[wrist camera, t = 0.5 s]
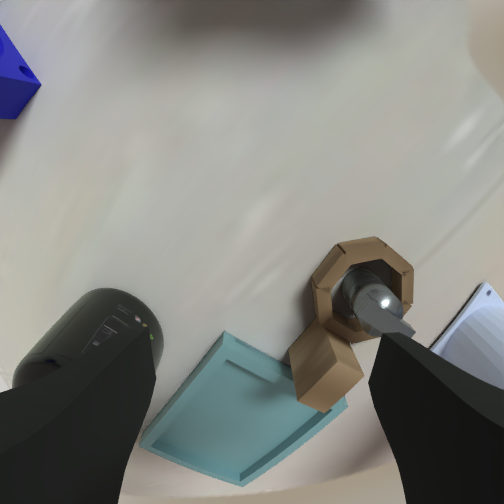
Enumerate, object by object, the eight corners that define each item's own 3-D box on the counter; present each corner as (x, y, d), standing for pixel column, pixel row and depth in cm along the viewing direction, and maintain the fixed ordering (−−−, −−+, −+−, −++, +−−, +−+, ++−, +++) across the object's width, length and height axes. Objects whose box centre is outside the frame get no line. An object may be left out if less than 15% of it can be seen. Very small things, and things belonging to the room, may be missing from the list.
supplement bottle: (119, 381, 21) (60, 509, 10) (60, 311, 19) (-40, 421, 8) (187, 347, 20) (145, 507, 9) (123, 264, 18) (6, 391, 7)
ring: (354, 219, 18) (389, 243, 13) (418, 272, 19) (459, 306, 14) (263, 335, 20) (266, 387, 15) (332, 372, 21) (348, 422, 16)
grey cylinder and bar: (390, 285, 19) (424, 321, 14) (367, 314, 20) (394, 356, 15) (351, 255, 18) (380, 288, 14) (326, 286, 19) (347, 327, 14)
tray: (343, 393, 22) (347, 406, 20) (242, 475, 25) (242, 487, 24) (224, 330, 20) (222, 344, 18) (142, 433, 23) (138, 446, 22)
